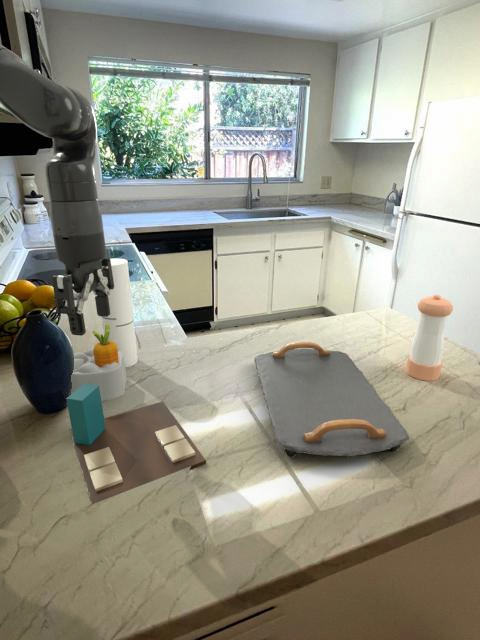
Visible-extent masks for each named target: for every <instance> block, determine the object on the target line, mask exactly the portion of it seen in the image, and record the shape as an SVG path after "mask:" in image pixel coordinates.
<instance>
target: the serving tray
mask: <svg viewBox="0 0 480 640" xmlns="http://www.w3.org/2000/svg"><path fill="white" fill-rule="evenodd" d="M254 365H255V369H256V371H257V375H258V376H257V377H258V379H259V384H260V388H261V390H262V395H263V396H264V402H265V404H266V408H267V412H268V415H269V418H270V419H269V420H270V422H271V426H272V429H273V433H274V436H275V440H276V443H277V445H278V447H280V448H281V449H284V452H285V455H286V456H287V457H288V458H294V457H295V456H296V455H297V453H300V454H309V455H315V456H336V457H337V456H339V457H354V456H361V455H362V456H363V455H368V454H372V453H377V452H383V451H388V450H391V451H394V452H395V451H398V450H399V449H400V448H401V446H402V445H403V444H405V443H406V442H407V441H408V440H409V439H410V436H409V434H408V432H407V430H406V429H405V427H404V426H403V425H402V423H401V422H400V420H399V419H397V417H396V416H395V414H394V413H393V412H392V410H391V408H390V406H388V404H387V403H386V402H385V401H384V400H383V399H382V398H381V397H380V396H379V394H378V392H377V390H376V389H375V387H374V386H373V384H372V383H370V382H369V380H368V379H367V378H366V376H365V374H364V372H363V371H362V370H360V369H359V367H357V365H356V364H355V363H354V361H353V359H351V357H350V355H348V354H347V353H346V352H344V351H338V350H330V349H324V348H323V347H322V346H321V345H320V344H318V343H316V342H310V341H297V342H291V343H287V344H285V345H284V346H282V347H281V348H280V349H278V350H276V351H271V352H266V353H261V354H259V355H256V356H254Z"/></svg>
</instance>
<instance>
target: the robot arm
mask: <svg viewBox="0 0 480 640" xmlns="http://www.w3.org/2000/svg"><path fill="white" fill-rule="evenodd" d="M0 105H1V106H2V107H3V108H4V109H5V110H7V112H9V114H11V115H13V116H14V117H15V118H16V119H17V120H18V121H20V122H21V123H23V124H24V125H25V126H26V127H28V128H30V129H31V130H32V131H35V132H36V133H38V134H40V135H42V136H43V137H47V138H50V139H52V151H53V152H52V156H51V158H50V159H48V160H47V161H46V162H45V164H44V175H45V176H44V177H45V184H46V189H47V190H46V191H47V196H48V200H49V201H48V203H49V218H50V225H51V231H52V236H53V237H52V238H53V243H54V249H55V254H56V259H57V261H58V262H60V263H62V264H64V274H62V275H61V274H60V275H59V274H57V275H55V274H54V275H52V277H51V279H52V280H51V281H52V288H53V294H54V302H55V311H56V313H57V314H60V315H67V319H68V324H69V330H70V333H71V335H73V336H80V337H82V336H84V335H85V334H86V333H87V329H86V324H85V323H86V322H85V317H84V313H83V308H84V304H85V302H86V301H87V300H88V299H89V295H90V294H91V293H92V292H93V294H94V295H95V296H94V300H95V307H96V314H97V316H98V317H102V316H103V317H107V316H109V315H110V307H109V299H108V296H109V295H110V289H114V280H113V274H112V267H111V260H110V259H111V258H110V257H108V256H107V248H106V239H105V238H106V237H105V231H104V223H103V215H102V210H101V207H100V203H99V196H98V189H97V188H98V187H97V179H96V174H95V162H96V155H97V154H96V151H97V150H96V149H97V121H96V116H95V112H94V109H93V107H92V105H91V103H90V101H89V100H88V98H87V97H86V96H85V94H83V93H82V92H80V91H78V90H77V89H74V88H71V87H68V86H66V85H63V84H62V83H61V84H60V83H59V82H56V81H54V80H53V79H51V78H48V77H46V76H45V75H43V74H42V73H40V72H38V71H37V70H35V69H33V68H31V67H30V66H29V64H28V63H27V62H26V61H25V60H24V59H23V58H21V57H20V56H19V55H17V54H16V53H15V52H14V51H12V50H10V49H9V48H7V47H5V46H4V45H2V44H1V43H0ZM104 277H107V279H108V283H107V281H106V279H105V278H104ZM74 292H75V293H74ZM64 300H65V303H64ZM75 301H76V303H75Z"/></svg>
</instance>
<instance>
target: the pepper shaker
mask: <svg viewBox="0 0 480 640" xmlns="http://www.w3.org/2000/svg"><path fill="white" fill-rule="evenodd" d="M417 309H418V311H419V317H418V322H417V328H416V331H415V334H414V336H413V340H412V342H411V345H410V346H411V348H410V354H409V355H408V356H407V361H406V366H405V373H407V375H409V376H410V377H412V378H413V379H416V380H420V381H427V382H429V381H430V382H433V381H437V380H438V379H439V378H440V376H441V371H442V367H443V362H442V357H443V354H444V349H445V330H446V325H447V321H448V316H451V314H452V313H453V311H454V306H453V303H452V302H451V301H450V300H448V299H446V298H444V297H441V295H440V294H433V296H425V297H423V298H421V299H420V300H419V301H418V303H417Z"/></svg>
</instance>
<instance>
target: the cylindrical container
mask: <svg viewBox="0 0 480 640" xmlns="http://www.w3.org/2000/svg"><path fill="white" fill-rule="evenodd" d="M110 260H111V267H112V274H113V280H114V289H110V295H109V296H108V299H109V307H110V315H109V316H107V317H103V316H101V324H102V329H103V330H102V331H103V335H104V334H105V325H106V324H108V325H109V326H110V333H109V339H108V341H112V342H115V343H116V344H117V347H118V351H119V352H122V353H123V355H124V363H125V369H126V368H130V367H132V366H134V365H136V364H137V363H138V361H139V358H138V347H137V338H136V328H135V327H136V326H135V319H134V308H133V300H132V299H133V298H132V290H131V281H130V280H131V279H130V271H129V261H128V260H127V259H126V258H118V257H117V258H116V257H115V258H113V257H112V258H110ZM104 278H105V279H106V281H107V283H108V279H107V277H104Z"/></svg>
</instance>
